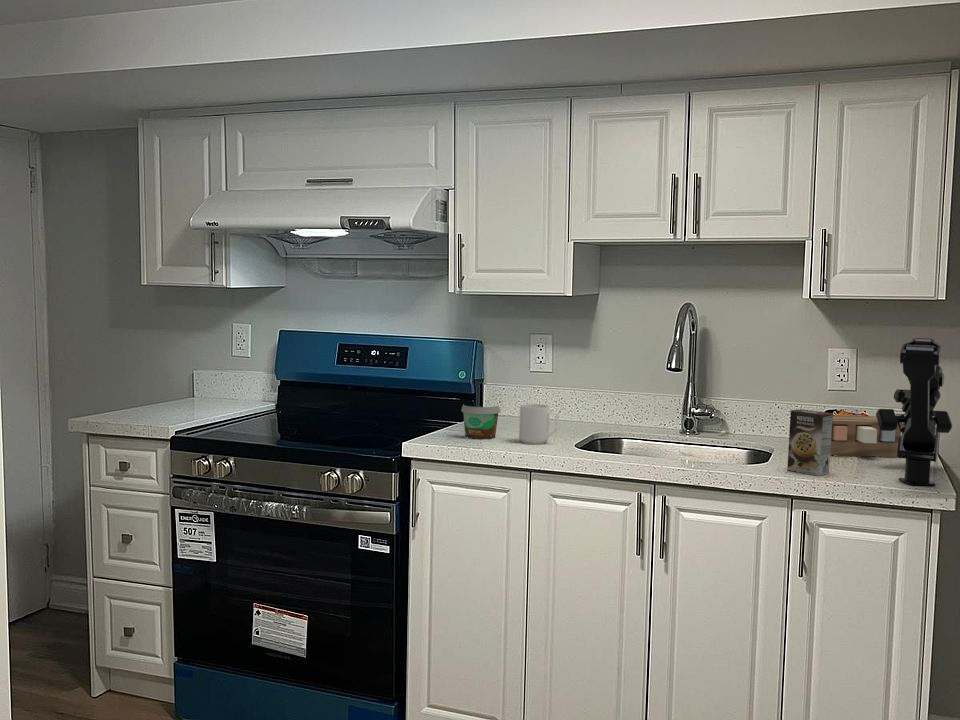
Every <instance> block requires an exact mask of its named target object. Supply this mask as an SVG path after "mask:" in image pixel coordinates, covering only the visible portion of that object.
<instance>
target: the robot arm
mask: <svg viewBox="0 0 960 720" xmlns="http://www.w3.org/2000/svg"><path fill="white" fill-rule="evenodd" d="M941 349H942V347H941V345H940V344H938V343H936V339H934V338H931V337H930V338H929V337H927V338H926V337H915V338H912V339H911V341H908V342H905V343H903V344H902V346H901V349H900V352H899V353H900V354H899V364H901V365H902V373H903V374H904V375H905V377H907V380H908V381H909V383H908V384H910V385H909V386H910V387H909V388H910V389H896V390H895V391H894V394H893V400H894V401H895V403H901V404H902V406H901V411H902V413H895V410H894V409H893V408H879V409H878V410H877V411H876V413H875V416H876V417H877V420H878V424H879V427H880V429H881V430H882V431H893V430H895V429H896V428H897V423H898V426H899V429H900V432H901V436H900V437H899V442H898V450H897V457H896V458H899V459H905V461H904V462H905V464H904V477H899V478H898V480H899V481H900V482H902V483H905V484H907V485H910V486H936V483H935V482H932V481H930V477H931V462H934V463H936V462H937V460H938V454H939V453H938V452H939V436H940V435H937V433H942V434H949V433H950V432H951V431H952V428H953V424H952V420H951V417H950V415H949V413H948V411H947V410H934V409H935V407H936V406H937V404H938V402H939V400H940V399H941V392H940V389H941V387H943V386H944V383H945V374H944V372H943V368H942V367H941V366H940V363H941V352H942V350H941Z"/></svg>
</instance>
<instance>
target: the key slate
mask: <svg viewBox="0 0 960 720" xmlns="http://www.w3.org/2000/svg"><path fill="white" fill-rule="evenodd" d="M879 440H880V441H890V442H895V430H893V431H882V430H881V429H880V435H879Z"/></svg>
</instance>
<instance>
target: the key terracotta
mask: <svg viewBox="0 0 960 720" xmlns="http://www.w3.org/2000/svg"><path fill="white" fill-rule="evenodd" d="M831 439H833V440H842V441H847V427H846V426H844V425H841V424H832V436H831Z"/></svg>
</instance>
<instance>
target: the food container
mask: <svg viewBox="0 0 960 720" xmlns="http://www.w3.org/2000/svg"><path fill="white" fill-rule="evenodd" d="M461 412H462V413H463V424H464V437H465V436H466V437H468V438H467V439H470V438H472V439H471V440H491V439H492V438H493V439H495V438H496V436H497V435H496V433H497V427H498V420H499V419H498V418H499V414H500V413H501V408H500V405H497V406H489V407H488V406H471V405H470V406H469V405H465V404H464V403H463V404H462V406H461ZM466 437H465V438H466Z"/></svg>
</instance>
